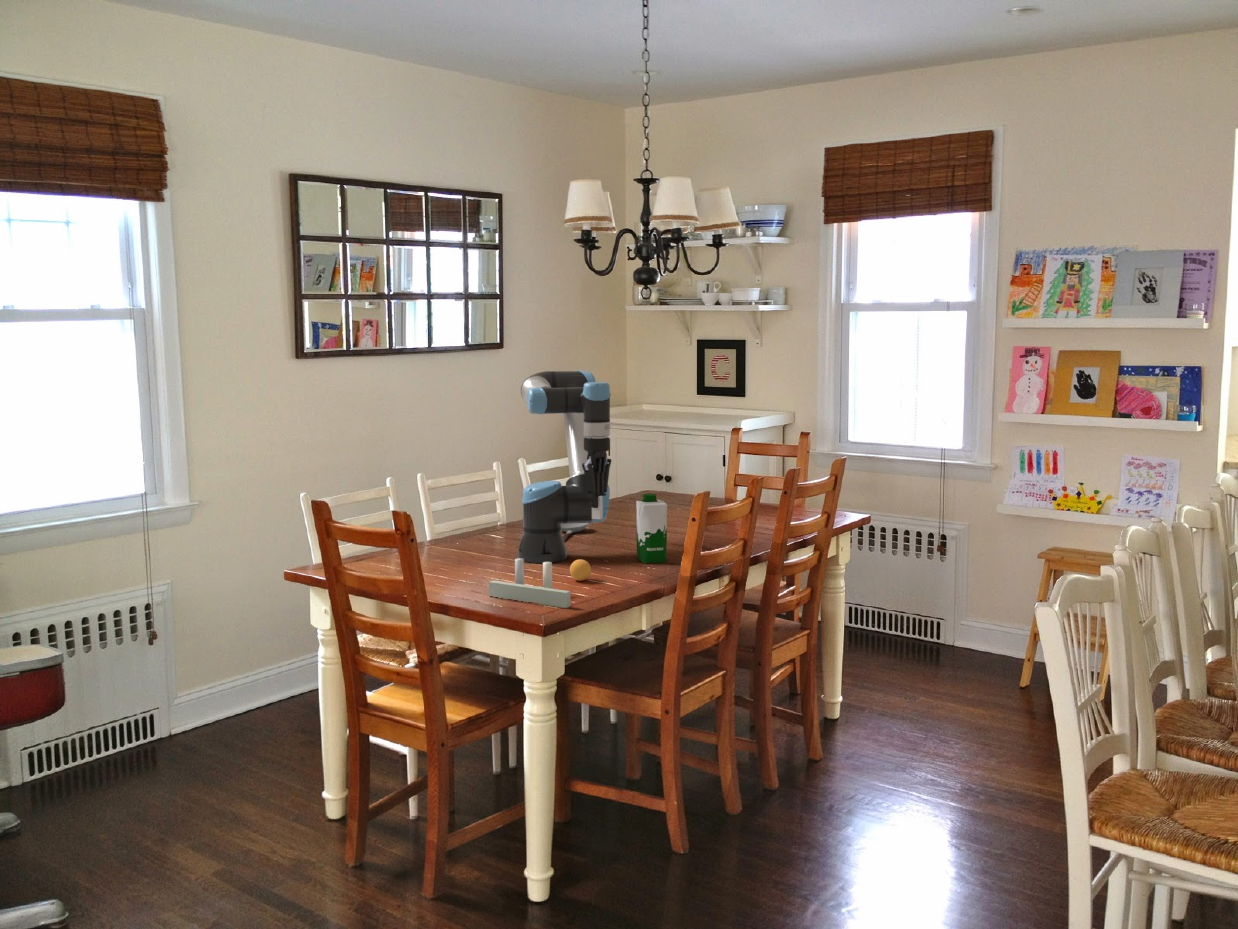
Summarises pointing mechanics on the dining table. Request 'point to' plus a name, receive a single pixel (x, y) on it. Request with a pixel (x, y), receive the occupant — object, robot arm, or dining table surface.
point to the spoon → (572, 528)
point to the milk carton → (651, 529)
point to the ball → (580, 570)
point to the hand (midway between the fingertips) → (597, 518)
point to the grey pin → (519, 571)
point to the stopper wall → (530, 594)
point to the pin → (547, 575)
